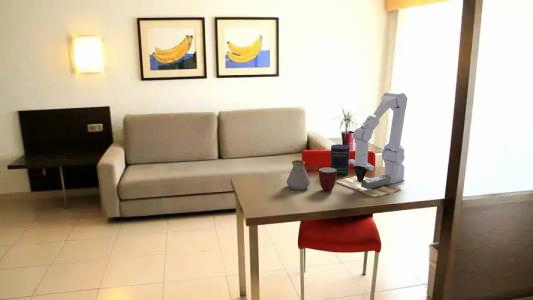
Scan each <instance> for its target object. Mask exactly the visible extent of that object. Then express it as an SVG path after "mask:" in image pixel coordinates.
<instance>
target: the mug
mask: <svg viewBox="0 0 533 300" xmlns="http://www.w3.org/2000/svg"><path fill="white" fill-rule="evenodd" d="M336 175H337V170H336V169H334V168H330V167H321V168H319V169H318V178H319V185H320V187H321V189H322V191H323V192H325V193H327V192H328V193H329V192H332V191H333V189H334V187H335V184H336V181H337V180H336V179H337V176H336Z"/></svg>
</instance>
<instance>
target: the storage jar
mask: <svg viewBox="0 0 533 300" xmlns="http://www.w3.org/2000/svg"><path fill="white" fill-rule="evenodd" d="M350 155H351V154H350V145H347V144H342V143H341V144H331V145H330V164H329V165H330V167H329V168H334V169H336V170H337V175H336V177H346V176H349V173H350V171H349V170H350V164H349V160H350Z"/></svg>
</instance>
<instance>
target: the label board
mask: <svg viewBox="0 0 533 300" xmlns="http://www.w3.org/2000/svg"><path fill="white" fill-rule="evenodd" d="M370 178H371V177H367V176H364V179H363V180H366V179H370ZM338 183H339V185H342V186H343V185H344V187H346V188H348V189H351V190H354V191H356V192H358V193H362V194H364V195H366V196H369V197H372V198H373V199H376V198H379V197H382V196H386V195H389V194H390V195H391V194H393V193H398V192H401V190H402V189H401V188H399V187H396V186H393V185H390V186H385V185H382V186H378V187H374V188H370V189H366V188H363V187H361V182H358V180H357V176H356V175H354V176H351V177H347V178H343V179H342V178H341V179H338V180H335V184H338Z"/></svg>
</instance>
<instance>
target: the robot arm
mask: <svg viewBox="0 0 533 300" xmlns="http://www.w3.org/2000/svg"><path fill="white" fill-rule="evenodd" d="M382 95H383V96H381V102H380V104H378V106H377V108H376V109H375V110H374V112H373V114H371V115H368V116H367V117H366V119H365V120H364V122H363V123H362V124H361V125H360V127H358V128H355V130H354V131H353V133H352V135H353V136H352V137H353V139H354V143H355V151H354V154H355V155H354V159H352V158H351V159H349V165H353V167H352V169H353V171H354V173H355V176H357V180H358V182H361V180H363V179H364V177H366V174H367V172H368V171H371V172H373V171H375V165H372V164H371V163H369V162H368V159H369V142H370V140H371V139H372V137H373V133H374V130H376V128H377V126H379V124H380V119H381V118H382V117H383V116H384V114H385V113H386V112H387V111H388V110H389V109H390V110H391V111H392V112H393V113H392V119H391V127H390V133H389V138H388V143H387V144H386V145H384V147H383V150H382V153H381V159H382V160H383V163H384V174H383V175H390V176H391V184H395V183H399V182H402V181H405V180H406V179H405V166H404V163H403V162H404V161H405V149H404V147H403V146H402V145H401V141H402V134H403V129H404V123H405V122H404V121H405V116H406V114H405V113H406V109H407V103H408V97H407V95H406V94H405V93H404V92H393V91H385V92H384V93H383V94H382Z"/></svg>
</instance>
